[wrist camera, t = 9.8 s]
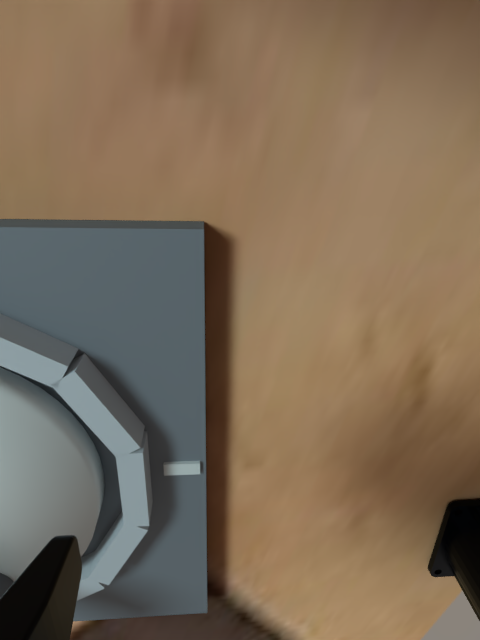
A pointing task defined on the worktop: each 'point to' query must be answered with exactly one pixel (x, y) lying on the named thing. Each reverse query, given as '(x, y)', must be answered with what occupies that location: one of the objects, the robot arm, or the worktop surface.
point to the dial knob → (42, 476)
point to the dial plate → (121, 392)
